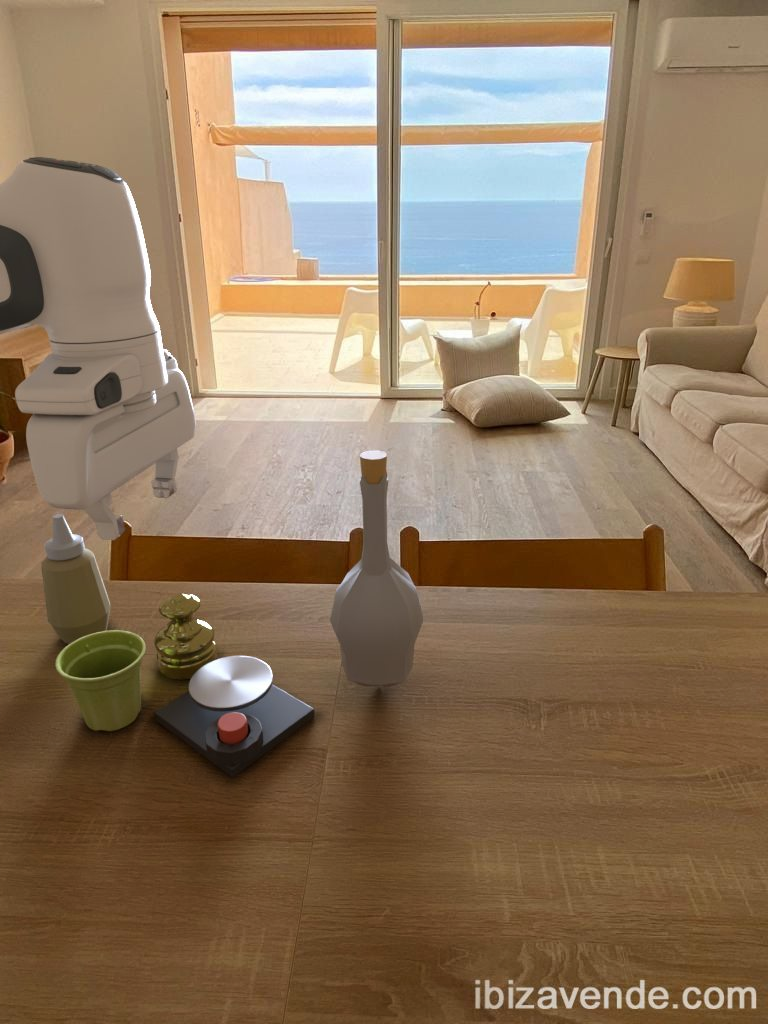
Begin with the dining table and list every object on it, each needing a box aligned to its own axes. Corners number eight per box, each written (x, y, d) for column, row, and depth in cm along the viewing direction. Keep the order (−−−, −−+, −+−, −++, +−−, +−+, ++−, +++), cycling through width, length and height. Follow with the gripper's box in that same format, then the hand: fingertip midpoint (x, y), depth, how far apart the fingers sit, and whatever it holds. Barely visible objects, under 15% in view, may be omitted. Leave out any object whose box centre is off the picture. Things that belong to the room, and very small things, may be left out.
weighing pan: (172, 688, 81) (171, 684, 80) (237, 650, 87) (236, 646, 87) (224, 724, 75) (224, 719, 75) (289, 680, 82) (289, 676, 81)
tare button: (213, 735, 74) (211, 723, 73) (235, 720, 76) (234, 708, 75) (231, 748, 72) (229, 735, 71) (253, 732, 74) (252, 720, 73)
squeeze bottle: (122, 637, 95) (98, 519, 88) (59, 658, 91) (29, 535, 84) (107, 611, 101) (83, 498, 94) (47, 630, 97) (18, 513, 90)
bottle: (352, 727, 79) (342, 481, 66) (319, 671, 88) (305, 446, 76) (440, 699, 83) (446, 463, 70) (399, 649, 92) (399, 432, 80)
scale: (151, 722, 80) (147, 701, 78) (236, 670, 88) (234, 650, 87) (232, 783, 71) (229, 760, 70) (317, 718, 80) (316, 697, 79)
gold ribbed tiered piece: (214, 642, 94) (205, 577, 90) (220, 674, 88) (211, 606, 84) (158, 652, 92) (146, 587, 88) (160, 686, 86) (147, 617, 81)
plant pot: (133, 679, 87) (121, 620, 83) (171, 714, 81) (160, 653, 77) (57, 714, 81) (42, 653, 78) (92, 756, 75) (76, 691, 71)
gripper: (142, 345, 70) (165, 473, 75) (-3, 398, 51) (41, 562, 57) (200, 345, 68) (219, 476, 74) (72, 399, 50) (110, 568, 56)
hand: (141, 514), depth 65 cm, fingers open, 8 cm apart
